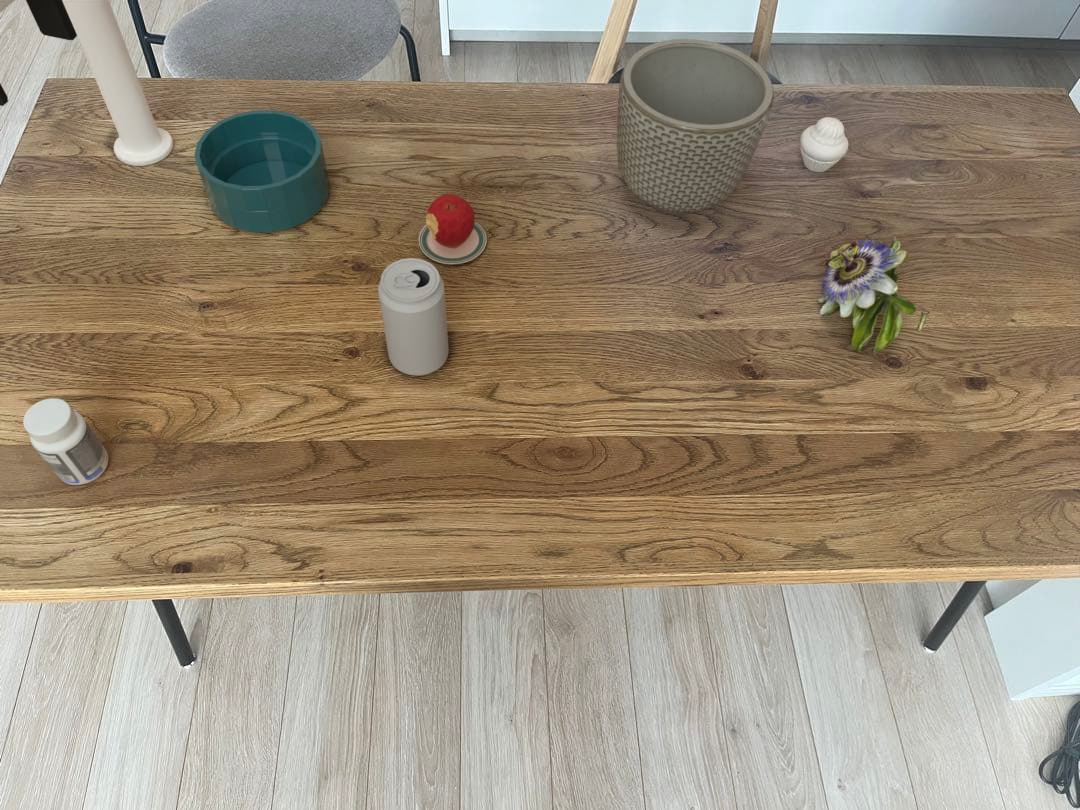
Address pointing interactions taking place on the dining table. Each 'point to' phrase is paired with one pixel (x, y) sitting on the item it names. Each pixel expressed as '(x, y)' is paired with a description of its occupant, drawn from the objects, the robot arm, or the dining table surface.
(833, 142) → the muffin
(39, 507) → the dining table surface
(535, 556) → the dining table surface
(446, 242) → the apple
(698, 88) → the planter
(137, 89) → the candle
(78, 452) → the pill bottle
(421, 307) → the beverage can
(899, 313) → the passion flower
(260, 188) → the teal pet bowl
